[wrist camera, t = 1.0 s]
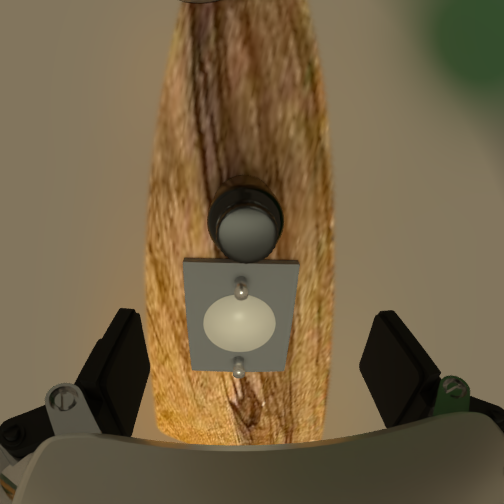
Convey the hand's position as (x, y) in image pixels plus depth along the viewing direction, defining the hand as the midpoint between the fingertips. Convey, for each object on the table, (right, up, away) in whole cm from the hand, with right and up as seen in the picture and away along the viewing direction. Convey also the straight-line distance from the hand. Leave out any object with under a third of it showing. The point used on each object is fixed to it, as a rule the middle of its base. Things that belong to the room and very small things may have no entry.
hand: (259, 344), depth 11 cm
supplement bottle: (-1, +9, +22) cm, 24 cm away
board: (-2, -6, +28) cm, 29 cm away
